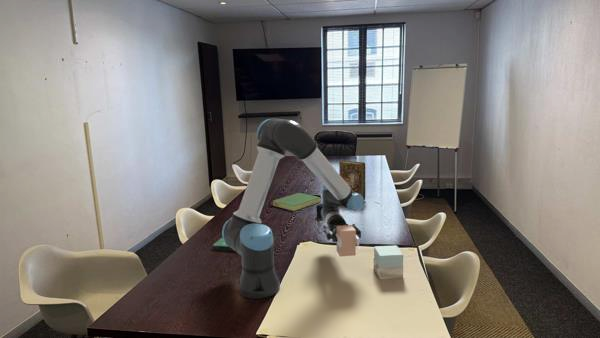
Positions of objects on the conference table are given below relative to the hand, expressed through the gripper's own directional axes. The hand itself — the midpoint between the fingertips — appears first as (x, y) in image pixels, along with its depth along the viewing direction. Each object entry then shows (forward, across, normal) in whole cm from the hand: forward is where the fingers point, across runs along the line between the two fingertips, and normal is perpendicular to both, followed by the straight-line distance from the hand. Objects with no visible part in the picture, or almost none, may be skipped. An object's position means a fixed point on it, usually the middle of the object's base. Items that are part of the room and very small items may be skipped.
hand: (349, 242), depth 148 cm
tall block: (-5, 0, -6) cm, 8 cm away
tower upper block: (-5, -17, -11) cm, 21 cm away
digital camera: (-80, -7, -16) cm, 82 cm away
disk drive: (-45, +45, -17) cm, 66 cm away
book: (-107, -29, -15) cm, 112 cm away
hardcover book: (-107, +7, -16) cm, 108 cm away
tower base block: (-5, -17, -16) cm, 24 cm away
